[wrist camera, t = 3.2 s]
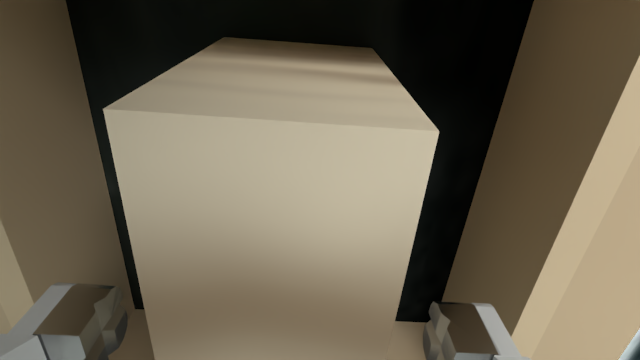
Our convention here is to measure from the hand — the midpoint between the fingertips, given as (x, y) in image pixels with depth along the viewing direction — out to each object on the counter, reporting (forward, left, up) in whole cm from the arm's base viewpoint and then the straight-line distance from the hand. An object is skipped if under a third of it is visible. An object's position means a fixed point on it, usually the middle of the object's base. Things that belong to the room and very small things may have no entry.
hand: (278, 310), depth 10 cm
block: (0, 0, -6) cm, 6 cm away
